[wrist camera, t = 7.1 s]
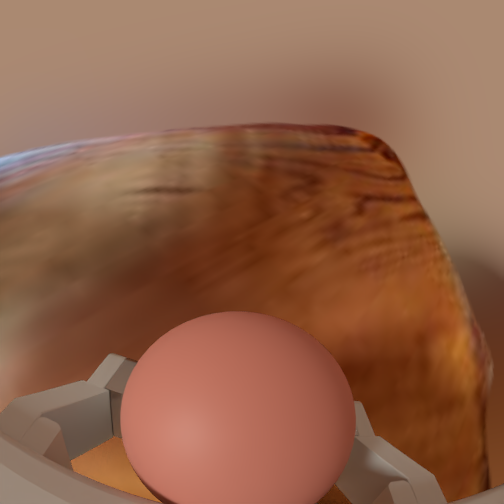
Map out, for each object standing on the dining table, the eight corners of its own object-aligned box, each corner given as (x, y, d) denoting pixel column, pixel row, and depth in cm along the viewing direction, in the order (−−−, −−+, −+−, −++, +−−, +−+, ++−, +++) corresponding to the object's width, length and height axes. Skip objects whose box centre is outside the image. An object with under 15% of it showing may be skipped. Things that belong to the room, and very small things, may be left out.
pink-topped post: (158, 423, 13) (26, 417, 3) (214, 363, 15) (228, 217, 5) (227, 477, 12) (282, 606, 2) (281, 414, 14) (445, 376, 4)
